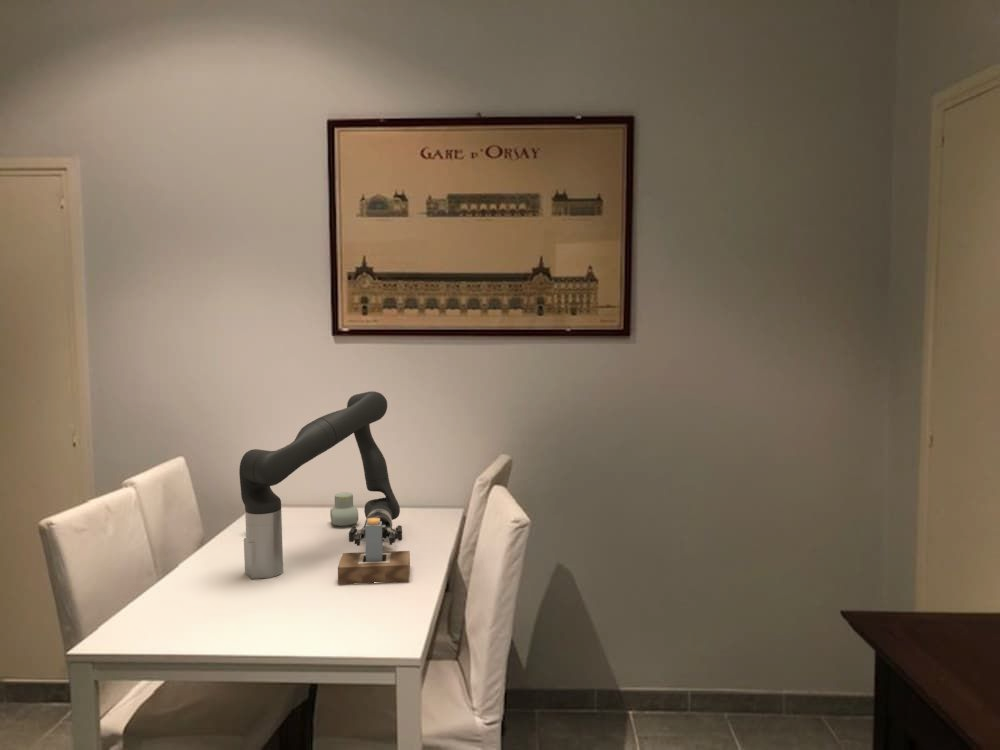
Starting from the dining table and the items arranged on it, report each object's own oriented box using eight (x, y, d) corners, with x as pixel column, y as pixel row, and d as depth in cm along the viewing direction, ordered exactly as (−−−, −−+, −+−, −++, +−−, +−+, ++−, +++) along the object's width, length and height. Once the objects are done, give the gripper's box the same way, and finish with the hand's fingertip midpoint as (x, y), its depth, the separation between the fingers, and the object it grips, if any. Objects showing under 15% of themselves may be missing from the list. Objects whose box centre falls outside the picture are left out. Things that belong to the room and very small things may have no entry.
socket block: (338, 584, 205) (337, 566, 204) (343, 569, 217) (342, 552, 216) (408, 582, 206) (408, 564, 206) (409, 566, 218) (409, 550, 218)
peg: (366, 578, 209) (365, 521, 208) (367, 573, 213) (366, 517, 212) (381, 577, 210) (380, 521, 208) (383, 572, 214) (381, 517, 212)
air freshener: (330, 521, 265) (329, 491, 264) (355, 518, 268) (354, 489, 267) (333, 529, 255) (332, 499, 254) (359, 527, 257) (358, 497, 256)
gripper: (352, 512, 225) (346, 528, 209) (403, 511, 227) (401, 526, 211) (353, 538, 226) (347, 556, 210) (403, 536, 227) (401, 554, 211)
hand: (374, 541), depth 210 cm, fingers open, 8 cm apart
